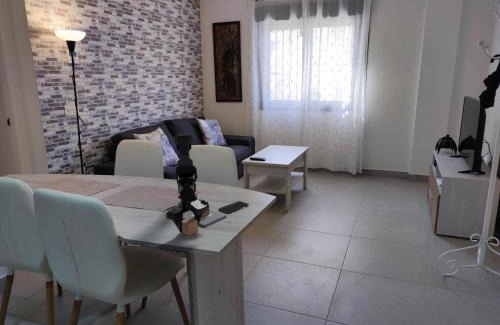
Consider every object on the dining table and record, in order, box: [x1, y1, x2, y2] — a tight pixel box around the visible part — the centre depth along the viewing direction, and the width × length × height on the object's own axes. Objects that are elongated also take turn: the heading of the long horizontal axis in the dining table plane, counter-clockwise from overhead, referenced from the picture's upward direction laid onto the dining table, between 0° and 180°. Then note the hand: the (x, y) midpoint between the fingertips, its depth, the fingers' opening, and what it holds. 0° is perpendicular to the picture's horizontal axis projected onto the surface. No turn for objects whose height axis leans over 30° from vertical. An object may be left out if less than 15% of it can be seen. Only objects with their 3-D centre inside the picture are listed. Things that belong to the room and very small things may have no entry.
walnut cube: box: [201, 207, 210, 218], centre depth 162 cm, size 5×5×5 cm
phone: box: [218, 200, 250, 215], centre depth 174 cm, size 8×1×15 cm
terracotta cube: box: [181, 218, 199, 236], centre depth 147 cm, size 5×5×5 cm
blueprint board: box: [183, 209, 227, 228], centre depth 162 cm, size 18×14×1 cm
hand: (189, 228), depth 147 cm, fingers open, 9 cm apart
